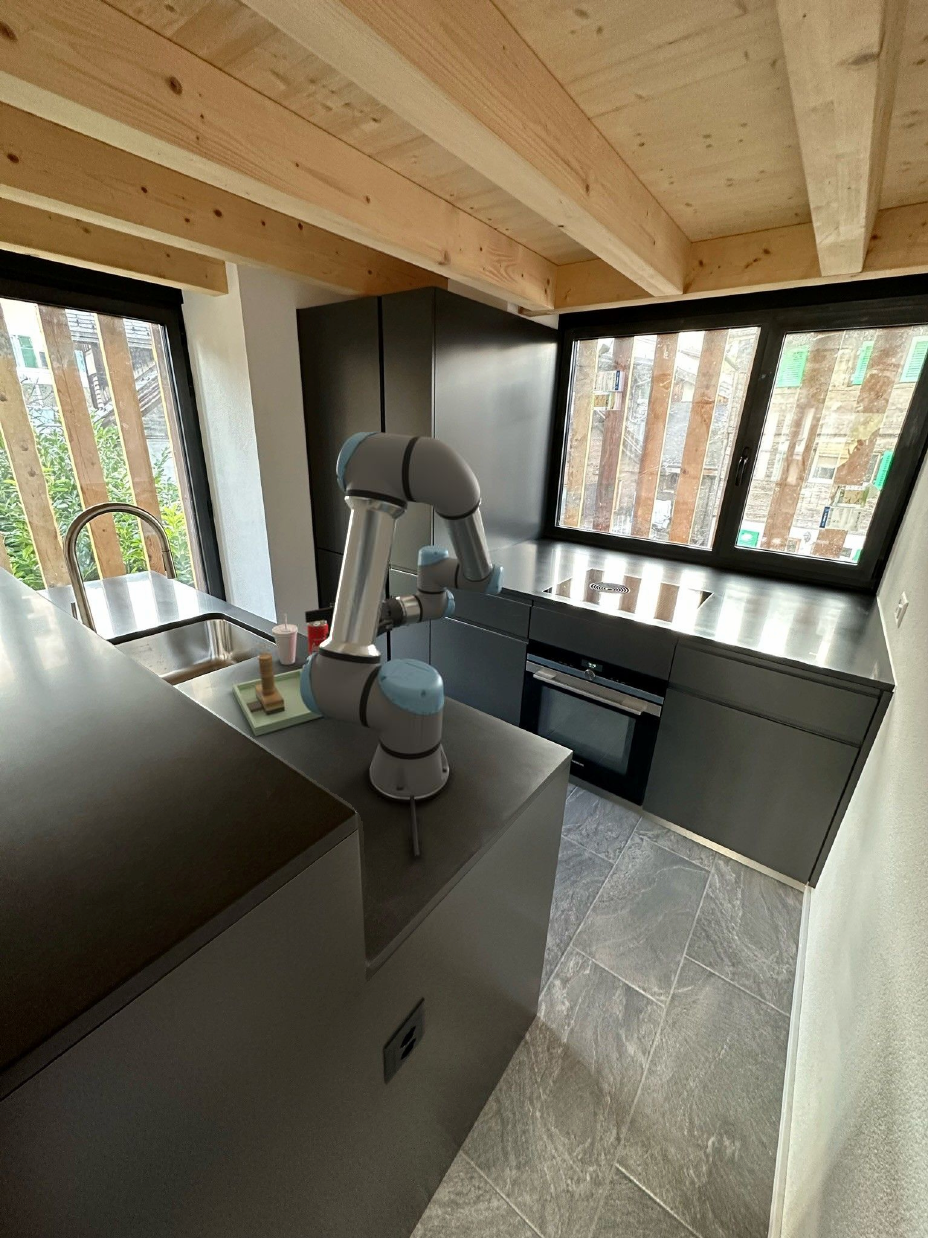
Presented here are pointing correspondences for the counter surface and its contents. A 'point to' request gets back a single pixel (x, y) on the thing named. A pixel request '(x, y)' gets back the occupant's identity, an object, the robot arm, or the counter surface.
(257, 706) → the pad
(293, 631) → the smoothie
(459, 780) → the counter surface
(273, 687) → the brush
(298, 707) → the tray
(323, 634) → the beverage can
